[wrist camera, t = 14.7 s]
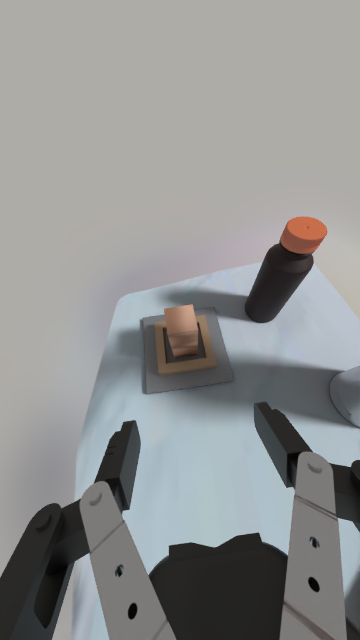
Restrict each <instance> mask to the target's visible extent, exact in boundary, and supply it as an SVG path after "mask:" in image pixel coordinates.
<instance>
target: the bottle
mask: <svg viewBox="0 0 360 640" xmlns="http://www.w3.org/2000/svg"><path fill="white" fill-rule="evenodd" d="M326 234H327V228H326V226H325V225H324V224H323V223H322V222H320V221H319V220H317V219H314V218H310V217H296V218H293V219H292V220H290V221H289V222H288V223H287V225H286V227H285V229H284V231H283V233H282V236H281V238H280V243H279V244H276V245H274V246H273V247H271V248H270V249H269V251H268V252H267V254H266V256H265V258H264V261H263V263H262V266H261V268H260V270H259V273H258V275H257V278H256V280H255V282H254V285H253V287H252V290H251V292H250V294H249V297H248V299H247V302H246V304H245V311H246V313H247V315H248V316H249V317H250V318H251V319H252V320H254V321H256V322H261V323H264V322H269V321H272V320H273V319H274V318H275V317H276V316H277V314H278V313H279V312H280V310H281V309H282V308H283V306H284V305H285V303H286V302H287V301H288V299H289V298H290V297H291V295H292V294H293V293H294V291H295V290H296V289H297V287H298V286H299V285H300V283H301V282H302V281H303V279H304V278H305V277H306V275H307V274H308V273H309V271H310V270H311V268H312V266H313V263H314V262H313V256H312V253H313V252H314V251H315V250H316V249H317V248H318V246H319V245H320V243H321V242H322V240H323V239H324V237H325V236H326Z"/></svg>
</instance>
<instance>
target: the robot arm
mask: <svg viewBox="0 0 360 640" xmlns="http://www.w3.org/2000/svg"><path fill="white" fill-rule="evenodd" d="M330 396H331V399H332V402H333V404H334V405H335V407H336V409H337V410H338V411H339V412H340V414H341V415H342V416H343V417H344V418H345V419H347V420H348V421H349V422H351V423H352V424H354V425H356V426H358V427H360V366H358V367H355V368H352V369H350V370H347V371H344V372H342V373H339V374H337V375H336V376H335V377H334V378H333V379H332V381H331V383H330ZM254 422H255V427H256V430H257V432H258V434H259V436H260V438H261V440H262V442H263V444H264V446H265V448H266V450H267V452H268V454H269V455H270V457H271V459H272V461H273V463H274V465H275V467H276V469H277V471H278V473H279V475H280V477H281V478H282V480H283V482H284V484H285V486H286V488H288V487H293V488H294V489H295V495H294V502H293V512H292V522H291V533H290V543H289V553H288V555H286V554H285V553H284V552H283V551H281V550H280V549H278V548H276V547H274V546H273V545H270V544H268V543H265V542H262V541H261V537H260V534H259V533H253V534H246V535H239V536H236V537H234V538H232V539H230V540H229V541H227V542H225V543H223V544H222V545H220V546H218V547H215V548H214V547H209V546H204V545H200V544H196V543H184V544H177V545H170V546H169V556H167V557H165V558H164V559H163V560H161V561H160V562H159V563H158V564H157V565H156V566H155V567H154V569H153V570H152V571H151V572H150V574H149V575H148V574H147V572H146V569H145V567H144V565H143V562H142V560H141V558H140V555H139V553H138V551H137V548H136V546H135V544H134V541H133V539H132V536H131V534H130V532H129V529H128V527H127V525H126V523H125V521H124V520H123V518H122V512H123V511H124V510H129V509H130V503H131V498H132V492H133V487H134V481H135V475H136V470H137V464H138V459H139V453H140V446H141V442H140V435H139V431H138V427H137V423H136V421H135V420H133V421H126V422H123V425H122V428H121V431H118V432H115V433H114V435H113V436H112V437H111V439H110V441H109V444H108V446H107V449H106V452H105V456H104V457H103V460H102V463H101V465H100V468H99V471H98V474H97V476H96V479H95V482H94V484H93V485H91V486H90V487H89V488H88V489H87V490H86V491H85V493H84V494H83V496H82V498H81V499H79V500H78V501H76V502H74V503H72V504H70V505H68V506H66V507H64V508H61V507H60V505H59V504H56V503H53V504H49V505H47V506H45V507H44V508H42V509H41V510H40V511H38V512H37V513H36V514H35V516H34V517H33V518H32V520H31V521H30V522H29V524H28V526H27V528H26V530H25V532H24V533H23V535H22V537H21V539H20V541H19V543H18V545H17V547H16V549H15V551H14V553H13V555H12V556H11V558H10V560H9V562H8V564H7V566H6V568H5V570H4V572H3V574H2V576H1V577H0V640H52V637H53V633H54V630H55V627H56V623H57V620H58V616H59V613H60V610H61V606H62V603H63V600H64V596H65V593H66V590H67V586H68V583H69V579H70V576H71V573H72V569H73V566H74V563H75V561H76V560H78V559H79V558H81V557H83V556H84V555H86V554H88V553H90V559H91V564H92V568H93V572H94V576H95V581H96V585H97V589H98V593H99V597H100V601H101V606H102V610H103V614H104V618H105V622H106V627H107V631H108V635H109V639H110V640H360V630H359V629H358V628H357V627H356V625H355V624H354V623H353V622H352V621H351V620H350V619H349V618H348V617H347V616H346V615H345V606H344V593H343V579H342V565H341V552H340V538H339V525H338V518H341V519H345V520H349V521H353V523H354V524H355V526H356V527H357V529H358V531H359V532H360V460H356V461H354V462H353V463H352V466H351V467H347V466H341V465H335V464H331V463H328V462H327V460H325V459H324V458H323V457H322V456H320V455H318V454H316V453H313V451H312V450H311V449H310V448H309V446H308V445H307V444H306V442H305V441H304V440H303V439H302V437H301V436H300V435H299V433H298V432H297V431H296V429H294V427H293V426H292V424H291V423H290V422H289V420H288V419H287V418H286V416H285V415H284V414H283V413H281V412H280V411H278V410H277V409H273V410H272V409H271V408H270V406H269V405H268V404H267V402H261V403H254Z"/></svg>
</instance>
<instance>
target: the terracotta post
mask: <svg viewBox="0 0 360 640" xmlns="http://www.w3.org/2000/svg"><path fill="white" fill-rule="evenodd" d="M164 313H165V320H166V328H167V335H168V338H169V342H170V345H171V348H172V351H173V355H174V358H181V357H187V356H193V355H197V350H198V327H197V322H196V318H195V313H194V309H193V304H191V305H185V306H179V307H173V308H167V309H164Z"/></svg>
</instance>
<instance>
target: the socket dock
mask: <svg viewBox="0 0 360 640" xmlns="http://www.w3.org/2000/svg"><path fill="white" fill-rule="evenodd" d="M194 313H195V318H196V322H197V327H198V350H197V355H193V356H187V357H181V358H174V355H173V351H172V348H171V345H170V342H169V338H168V335H167V328H166V320H165V315H159V316H152V317H146V318H143V326H144V349H145V371H146V394H154V393H161V392H167V391H173V390H180V389H186V388H193V387H199V386H205V385H212V384H218V383H225V382H231V381H234V378H233V374H232V370H231V367H230V363H229V359H228V356H227V352H226V348H225V345H224V341H223V337H222V334H221V330H220V326H219V323H218V319H217V315H216V312H215V308H214V307H211V308H204V309H198V310H194Z"/></svg>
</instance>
